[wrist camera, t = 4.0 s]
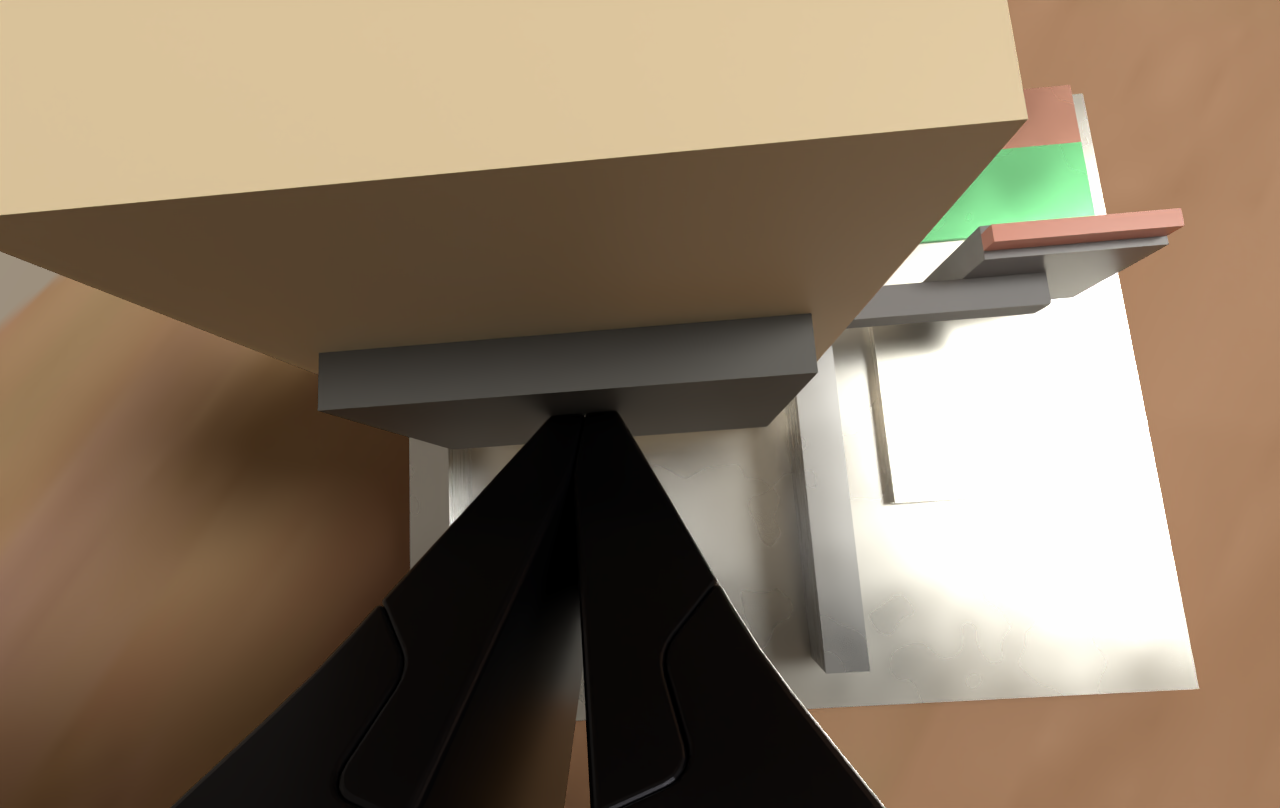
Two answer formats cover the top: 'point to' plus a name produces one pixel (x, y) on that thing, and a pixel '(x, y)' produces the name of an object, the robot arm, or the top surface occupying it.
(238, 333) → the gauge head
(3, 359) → the top surface
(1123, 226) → the drag pointer
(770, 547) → the gauge frame
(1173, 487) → the top surface
